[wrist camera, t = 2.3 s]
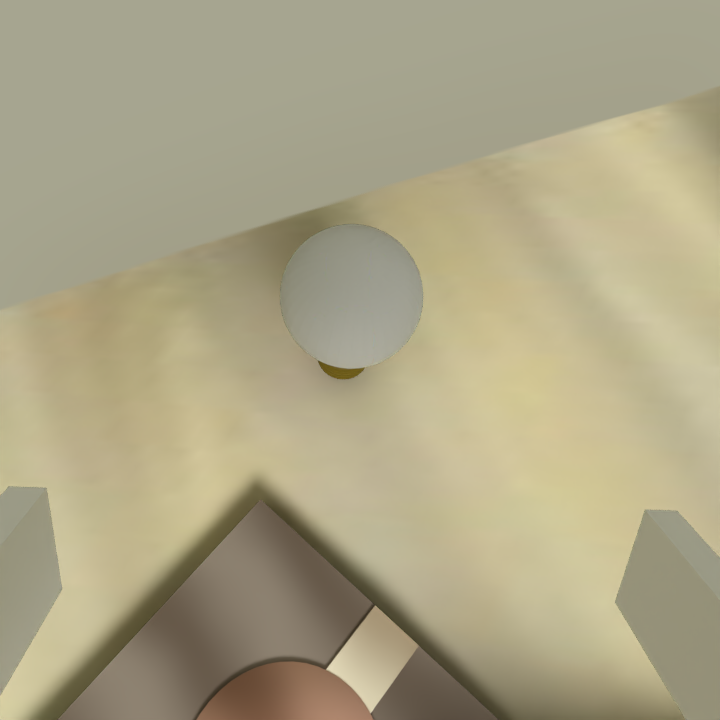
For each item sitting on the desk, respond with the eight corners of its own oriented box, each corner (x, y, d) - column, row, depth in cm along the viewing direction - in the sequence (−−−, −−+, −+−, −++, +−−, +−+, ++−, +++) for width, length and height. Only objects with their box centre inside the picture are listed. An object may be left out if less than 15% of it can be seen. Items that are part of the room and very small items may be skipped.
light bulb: (377, 301, 31) (407, 180, 22) (411, 399, 29) (460, 309, 20) (273, 325, 30) (259, 208, 21) (301, 428, 28) (299, 347, 19)
